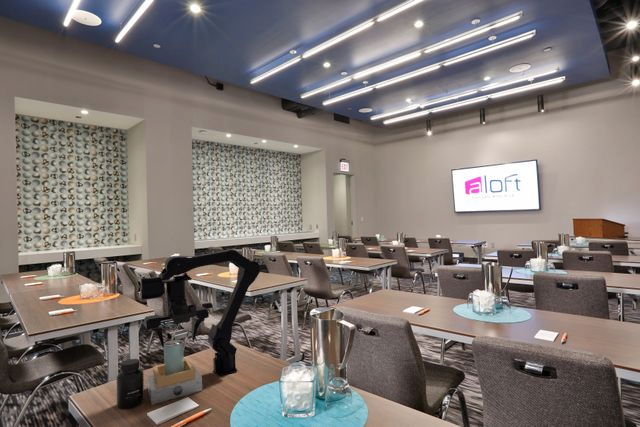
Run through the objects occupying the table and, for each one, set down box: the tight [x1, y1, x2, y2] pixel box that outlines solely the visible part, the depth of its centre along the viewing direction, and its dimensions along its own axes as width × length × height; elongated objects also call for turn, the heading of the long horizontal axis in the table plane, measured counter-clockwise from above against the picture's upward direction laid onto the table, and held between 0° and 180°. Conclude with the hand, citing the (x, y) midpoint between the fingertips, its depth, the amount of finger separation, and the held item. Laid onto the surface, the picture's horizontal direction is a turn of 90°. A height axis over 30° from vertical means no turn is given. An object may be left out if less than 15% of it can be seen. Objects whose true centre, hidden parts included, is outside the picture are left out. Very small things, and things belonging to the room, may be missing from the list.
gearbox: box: [146, 358, 203, 405], centre depth 109 cm, size 14×13×6 cm
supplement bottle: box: [116, 358, 145, 410], centre depth 101 cm, size 7×7×12 cm
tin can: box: [163, 339, 184, 376], centre depth 109 cm, size 6×6×10 cm
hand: (178, 343), depth 114 cm, fingers open, 9 cm apart
